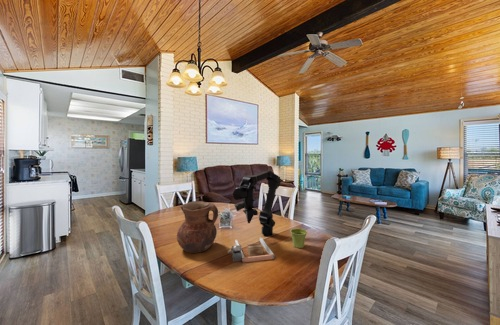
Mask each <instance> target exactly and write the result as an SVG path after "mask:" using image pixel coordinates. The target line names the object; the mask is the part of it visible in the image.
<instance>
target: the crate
mask: <svg viewBox="0 0 500 325" xmlns="http://www.w3.org/2000/svg"><path fill="white" fill-rule="evenodd" d="M246 247H247V248H246V249H247V250H246V251H247V254H248V257H252V256H261V255H264V247H263V245H262V244H261V242H260V243H258V242H257V243H251V244H247V246H246Z"/></svg>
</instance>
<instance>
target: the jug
mask: <svg viewBox="0 0 500 325" xmlns="http://www.w3.org/2000/svg"><path fill="white" fill-rule="evenodd" d="M180 210H181V211H182V213H183V214H184V221H183V223H182V224H181V225H180V226H179V227H178V230H177V232H176V241H177V243H178V245H179V246H180V248H181V249H182V250H184V251H185V252H186V253H189V252H190V254H198V252H199V253H203V252H205V251H207V250H209V249H210V248H211V246H212V245H213V244H214V242H215V240H216V237H217V234H218V233H217V232H218V230H217V227H216V224H215V223H216V221H217V220H218V217H219V210H218V207H217V206H216V204H215V203H212V202H207V201H202V200H200V201H199V200H193V201H190V202H187V203H183V204H181V205H180ZM210 212H212V213H213V214H212V219H210Z"/></svg>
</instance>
